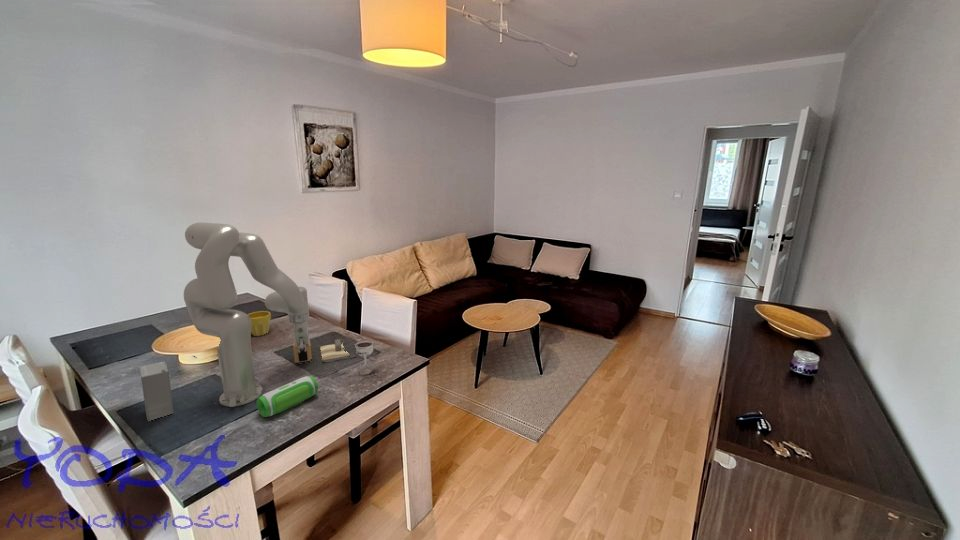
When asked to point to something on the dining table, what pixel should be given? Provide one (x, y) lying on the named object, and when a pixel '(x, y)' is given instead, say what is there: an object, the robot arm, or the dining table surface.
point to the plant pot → (260, 322)
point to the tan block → (296, 350)
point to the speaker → (286, 396)
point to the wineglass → (364, 349)
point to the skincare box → (156, 390)
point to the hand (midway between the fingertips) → (303, 356)
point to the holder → (333, 351)
